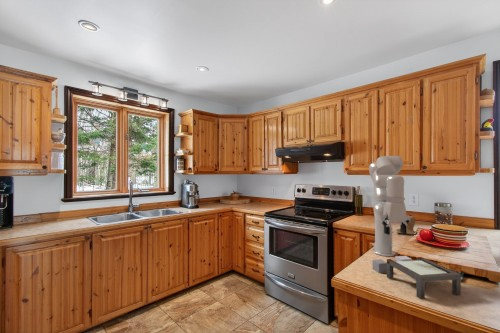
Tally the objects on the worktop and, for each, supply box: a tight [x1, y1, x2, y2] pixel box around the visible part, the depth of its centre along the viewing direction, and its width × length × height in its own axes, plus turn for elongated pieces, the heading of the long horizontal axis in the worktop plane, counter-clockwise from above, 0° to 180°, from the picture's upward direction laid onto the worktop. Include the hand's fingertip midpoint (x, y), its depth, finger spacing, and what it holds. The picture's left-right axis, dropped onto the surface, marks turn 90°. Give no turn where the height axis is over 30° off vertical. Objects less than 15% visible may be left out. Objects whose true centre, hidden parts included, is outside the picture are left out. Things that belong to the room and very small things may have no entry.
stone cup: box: [396, 215, 416, 235], centre depth 194 cm, size 15×12×15 cm
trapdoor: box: [394, 255, 447, 275], centre depth 111 cm, size 19×14×2 cm
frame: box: [386, 256, 462, 300], centre depth 109 cm, size 20×20×9 cm
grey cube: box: [372, 259, 387, 274], centre depth 124 cm, size 5×5×5 cm
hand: (395, 233), depth 120 cm, fingers open, 9 cm apart
